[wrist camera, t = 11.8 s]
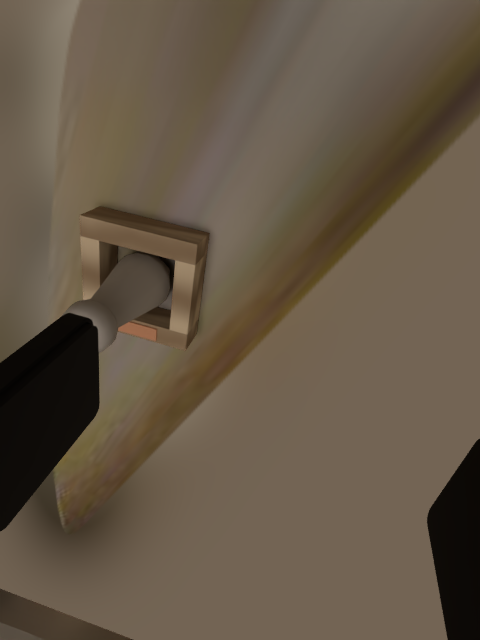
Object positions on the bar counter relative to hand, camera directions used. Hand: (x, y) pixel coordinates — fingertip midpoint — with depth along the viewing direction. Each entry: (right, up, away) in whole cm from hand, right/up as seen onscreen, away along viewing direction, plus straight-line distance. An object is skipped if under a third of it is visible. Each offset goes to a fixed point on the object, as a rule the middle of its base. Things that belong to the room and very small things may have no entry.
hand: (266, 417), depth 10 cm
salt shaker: (-10, +7, +32) cm, 34 cm away
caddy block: (-10, +7, +32) cm, 34 cm away
